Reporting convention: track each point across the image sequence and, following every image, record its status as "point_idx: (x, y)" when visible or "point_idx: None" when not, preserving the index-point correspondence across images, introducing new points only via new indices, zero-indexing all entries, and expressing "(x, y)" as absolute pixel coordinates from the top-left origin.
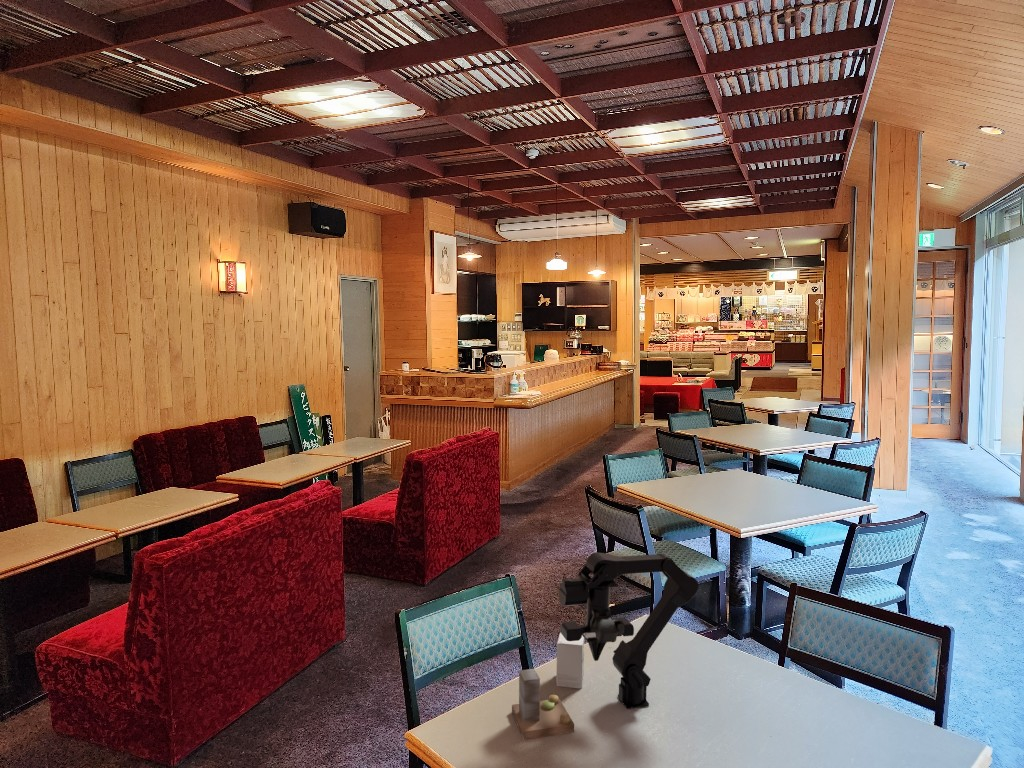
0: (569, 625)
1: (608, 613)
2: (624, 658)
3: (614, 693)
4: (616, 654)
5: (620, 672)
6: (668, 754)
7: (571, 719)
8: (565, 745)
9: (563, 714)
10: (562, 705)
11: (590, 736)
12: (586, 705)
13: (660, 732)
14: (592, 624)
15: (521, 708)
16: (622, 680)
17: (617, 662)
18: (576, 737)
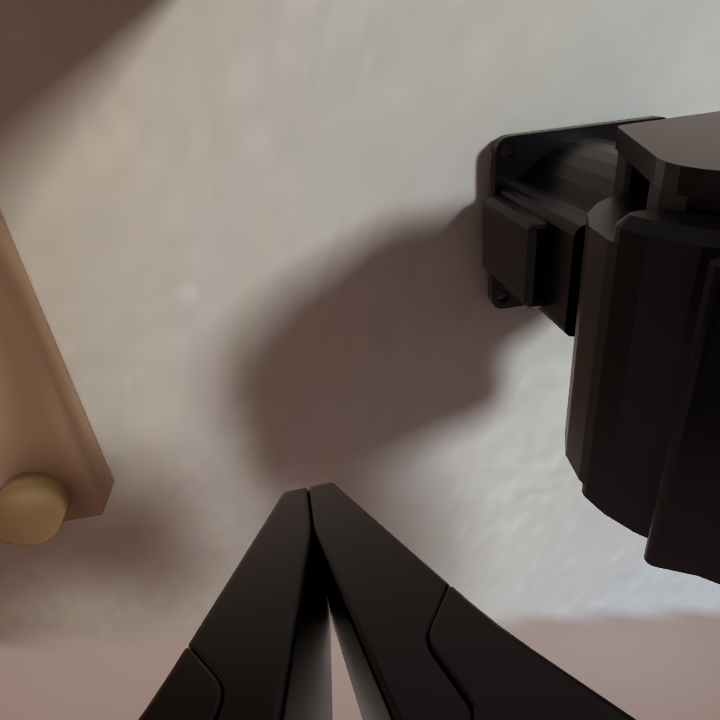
0: None
1: None
2: (716, 541)
3: (487, 83)
4: (697, 375)
5: (569, 420)
6: (511, 599)
7: (84, 474)
8: (61, 567)
9: (12, 503)
10: (9, 329)
11: (204, 511)
12: (226, 228)
13: (557, 488)
14: None
15: None
16: (569, 275)
17: (620, 389)
18: (125, 517)
